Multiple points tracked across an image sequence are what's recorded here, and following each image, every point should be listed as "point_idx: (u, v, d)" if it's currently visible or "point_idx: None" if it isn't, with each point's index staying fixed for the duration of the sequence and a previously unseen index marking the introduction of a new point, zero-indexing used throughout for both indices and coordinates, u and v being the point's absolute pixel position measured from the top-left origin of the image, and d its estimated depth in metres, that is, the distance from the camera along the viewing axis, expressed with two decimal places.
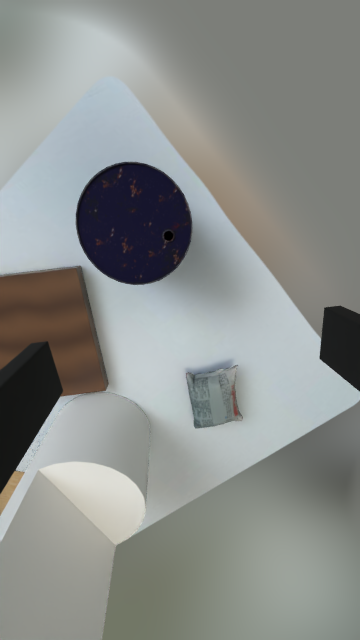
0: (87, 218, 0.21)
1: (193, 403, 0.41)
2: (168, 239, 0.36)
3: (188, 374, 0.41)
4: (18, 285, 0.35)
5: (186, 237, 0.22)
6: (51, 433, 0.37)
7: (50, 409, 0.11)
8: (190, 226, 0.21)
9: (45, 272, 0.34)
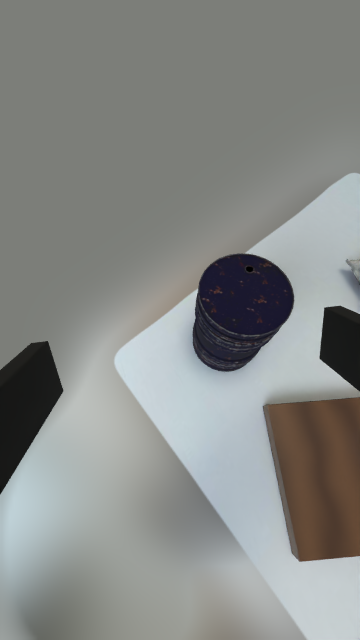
0: (240, 327, 0.24)
1: None
2: None
3: None
4: (293, 476, 0.30)
5: (249, 257, 0.27)
6: None
7: (50, 409, 0.11)
8: (241, 255, 0.28)
9: (275, 439, 0.32)
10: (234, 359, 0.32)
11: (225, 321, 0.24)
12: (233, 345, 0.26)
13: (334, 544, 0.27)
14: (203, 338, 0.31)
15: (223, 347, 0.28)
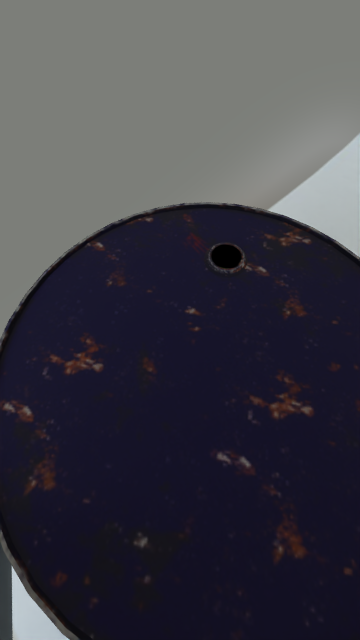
0: (178, 601, 0.04)
1: None
2: None
3: None
4: None
5: (225, 217, 0.07)
6: None
7: None
8: (194, 208, 0.08)
9: None
10: None
11: (92, 556, 0.04)
12: None
13: None
14: None
15: None
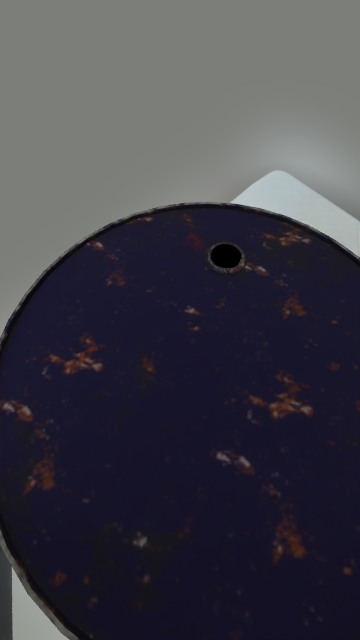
0: (177, 600, 0.04)
1: None
2: None
3: None
4: None
5: (224, 216, 0.07)
6: None
7: None
8: (194, 208, 0.08)
9: None
10: None
11: (91, 555, 0.04)
12: None
13: None
14: None
15: None
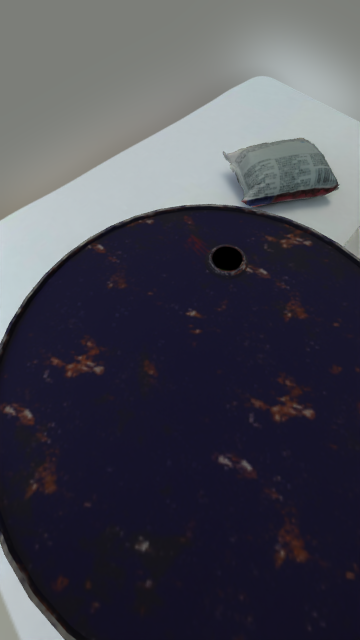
0: (179, 605, 0.04)
1: (288, 183, 0.27)
2: None
3: (243, 199, 0.28)
4: None
5: (225, 219, 0.07)
6: None
7: None
8: (195, 210, 0.08)
9: None
10: None
11: (93, 560, 0.04)
12: None
13: None
14: None
15: None
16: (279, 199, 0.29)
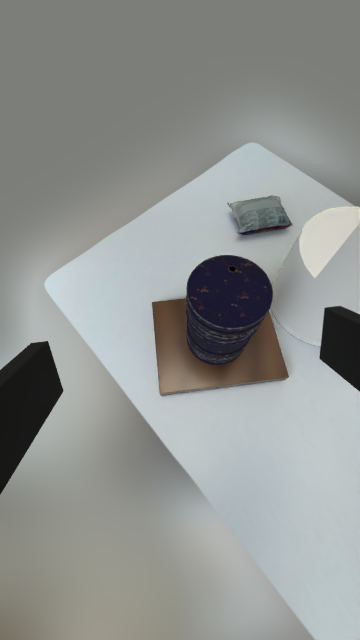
0: (225, 321, 0.27)
1: (263, 223, 0.50)
2: None
3: None
4: (164, 344, 0.42)
5: (232, 258, 0.30)
6: (301, 311, 0.38)
7: (50, 409, 0.11)
8: (224, 256, 0.30)
9: (154, 323, 0.43)
10: (224, 353, 0.35)
11: (212, 316, 0.27)
12: (221, 338, 0.29)
13: (186, 382, 0.39)
14: (194, 334, 0.34)
15: (212, 341, 0.30)
16: (259, 231, 0.52)
